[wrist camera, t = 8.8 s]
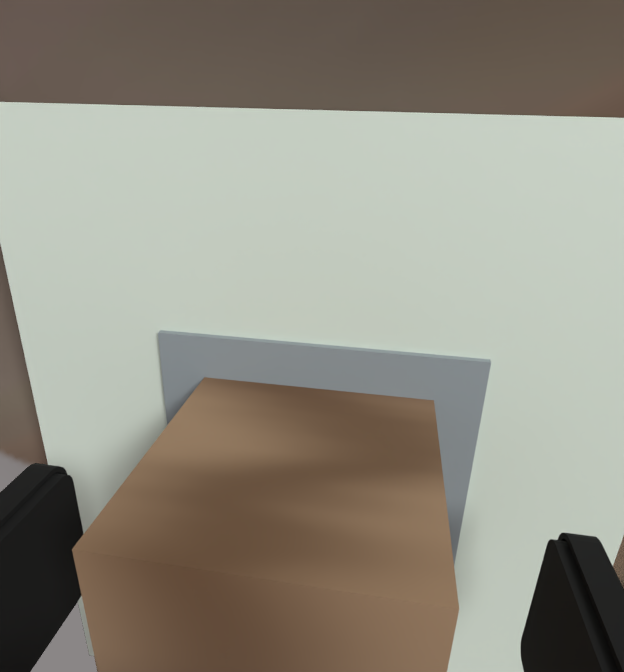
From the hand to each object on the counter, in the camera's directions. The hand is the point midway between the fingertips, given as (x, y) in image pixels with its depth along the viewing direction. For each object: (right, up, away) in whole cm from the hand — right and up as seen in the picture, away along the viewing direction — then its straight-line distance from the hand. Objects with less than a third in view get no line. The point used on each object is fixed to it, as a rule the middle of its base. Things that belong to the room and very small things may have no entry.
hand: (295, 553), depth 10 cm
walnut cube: (0, +1, +2) cm, 2 cm away
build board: (+1, +1, +3) cm, 3 cm away
